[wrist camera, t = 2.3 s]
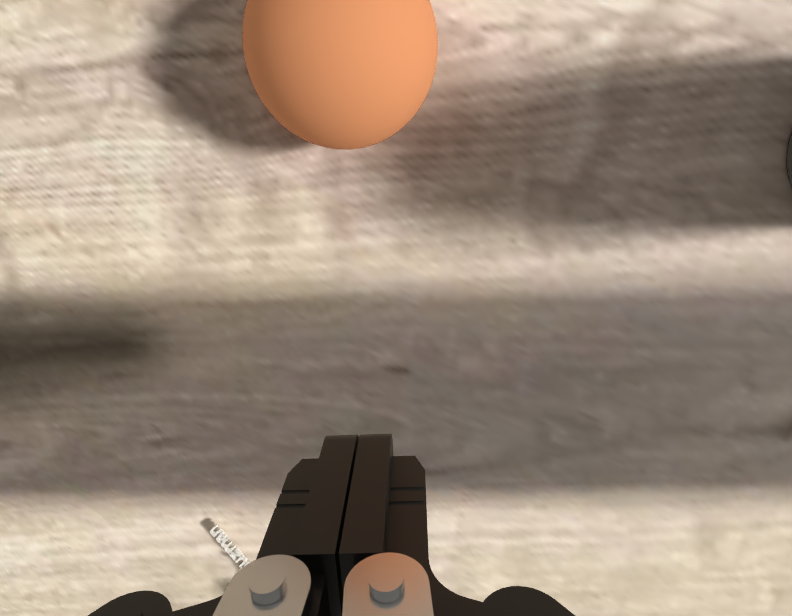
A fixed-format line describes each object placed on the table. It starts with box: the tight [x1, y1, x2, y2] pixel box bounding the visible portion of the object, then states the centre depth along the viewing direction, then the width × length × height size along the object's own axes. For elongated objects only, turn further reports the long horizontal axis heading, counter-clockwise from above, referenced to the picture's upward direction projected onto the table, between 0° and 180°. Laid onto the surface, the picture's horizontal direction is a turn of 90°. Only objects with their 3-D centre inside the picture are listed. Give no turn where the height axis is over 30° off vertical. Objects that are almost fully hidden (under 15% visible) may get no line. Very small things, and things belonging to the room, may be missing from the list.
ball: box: [242, 0, 438, 149], centre depth 15 cm, size 6×6×6 cm
